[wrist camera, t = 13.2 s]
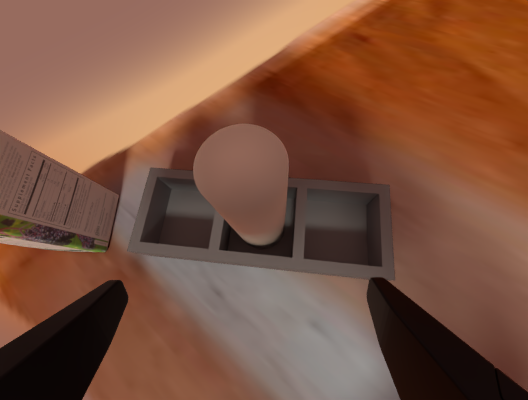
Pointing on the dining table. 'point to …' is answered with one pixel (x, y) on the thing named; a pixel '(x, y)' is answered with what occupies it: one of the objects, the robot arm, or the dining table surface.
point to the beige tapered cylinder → (246, 181)
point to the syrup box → (51, 202)
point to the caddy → (295, 233)
